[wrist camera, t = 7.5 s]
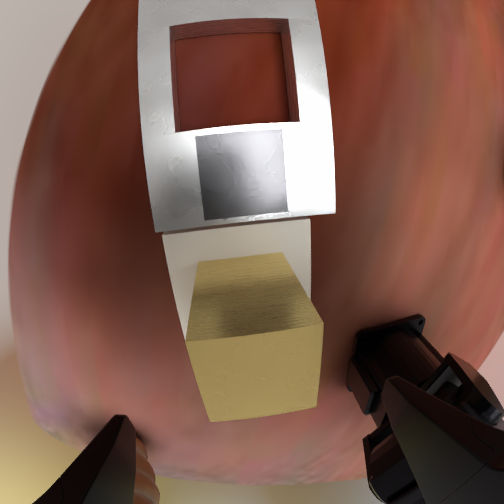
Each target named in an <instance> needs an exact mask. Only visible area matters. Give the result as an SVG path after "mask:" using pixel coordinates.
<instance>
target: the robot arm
mask: <svg viewBox="0 0 504 504" xmlns="http://www.w3.org/2000/svg"><path fill="white" fill-rule="evenodd" d="M424 324H425V318H424V317H423V316H422V315H417V316H414V317H410V318H407V319H403V320H400V321H396V322H392V323H388V324H385V325H381V326H377V327H373V328H368V329H364V330H361V331H359V332H358V333H357V334H356V336H355V341H354V348H353V354H352V357H351V358H350V362H349V368H348V373H347V378H346V380H347V389H348V391H350V392H351V391H352V392H353V394H354V396H355V398H356V400H357V402H358V404H359V406H360V408H361V410H362V412H363V413H364V414H365V415H369V414H371V416H372V418H373V420H374V422H375V424H376V426H377V427H378V428H377V429H376V430H375V431H373V432H372V433H371V434H368V435H367V436H366V437H364V438H363V446H364V453H365V461H366V469H367V478H368V484H369V488H370V490H371V491H372V493H373V494H374V495H375V496H376V498H377V499H378V500H380V501H381V502H383V503H384V504H504V421H503V420H502V418H503V417H504V409H503V407H502V405H501V403H500V402H499V400H498V398H497V397H496V395H495V393H494V392H493V390H492V389H491V387H490V385H489V384H488V382H487V381H486V380H485V379H484V377H483V376H482V375H480V374H479V372H477V370H476V369H475V368H473V367H472V366H471V365H470V364H469V363H467V362H465V361H464V360H462V359H460V358H459V357H457V356H455V355H453V354H452V353H450V352H449V353H448V354H447V355H446V356H445V358H443V357H442V356H441V355H440V354H439V352H438V351H437V350H436V349H435V348H434V347H433V346H432V345H431V344H430V343H429V342H428V341H427V340H426V339H425V337H424V336H423V335H422V331H423V327H424ZM362 336H363V337H362ZM361 337H362V338H361ZM135 476H136V430H135V428H134V426H133V424H132V423H131V421H130V420H129V418H128V417H127V416H126V415H118V414H117V415H114V416H113V417H112V418H111V420H110V421H109V422H108V423H107V424H106V425H105V426H104V428H103V429H102V430H101V431H100V432H99V433H98V434H97V435H96V437H95V438H94V439H93V440H92V441H91V442H90V443H89V444H88V446H87V447H86V448H85V449H84V450H83V451H82V452H81V454H80V455H79V456H78V457H77V458H76V459H75V461H73V463H72V464H71V465H70V466H69V467H68V468H67V469H66V470H65V472H64V473H63V474H62V475H61V477H60V478H58V479H57V480H56V482H55V483H54V484H53V485H52V486H51V487H50V488H49V489H48V490H47V491H46V492H45V493H44V494H43V495H42V496H41V497H39V498H38V499H37V500H36V501H35V502H34V503H32V504H133V499H134V487H135Z"/></svg>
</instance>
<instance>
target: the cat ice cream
mask: <svg viewBox="0 0 504 504" xmlns="http://www.w3.org/2000/svg"><path fill="white" fill-rule="evenodd" d="M147 459H148V457H147V451H146V448H145V446H144V444H143V443H142V442H141V441H140V440H139V439H138V438H136V476H135V487H134V499H133V504H159V500H160V493H159V490H158V488H157V486H156V484H155V473H154V471H153V468H152V467H151V465H150V463H149V462H148V461H147Z"/></svg>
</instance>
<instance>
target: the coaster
mask: <svg viewBox="0 0 504 504" xmlns="http://www.w3.org/2000/svg"><path fill="white" fill-rule="evenodd" d="M162 239H163V244H164V250H165V255H166V260H167V265H168V270H169V275H170V279H171V284H172V288H173V293H174V297H175V302H176V306H177V310H178V314H179V318H180V322H181V326H182V330H183V334H184V338H185V339H186V333H187V326H188V319H189V313H190V307H191V301H192V295H193V289H194V283H195V277H196V271H197V266H198V262H202V261H210V260H219V259H227V258H236V257H244V256H253V255H261V254H270V253H278V252H282V253H283V255H284V256H285V258H286V260H287V261H288V263H289V265H290V266H291V268H292V270H293V271H294V273H295V275H296V277H297V278H298V280H299V282H300V283H301V285H302V287H303V288H304V290H305V292H306V294H307V295H308V297H309V299H310V300H311V229H310V218H309V217H307V216H297V217H287V218H277V219H267V220H257V221H248V222H238V223H230V224H221V225H212V226H204V227H196V228H188V229H180V230H172V231H164V233H163V234H162Z"/></svg>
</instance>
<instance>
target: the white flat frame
mask: <svg viewBox="0 0 504 504" xmlns="http://www.w3.org/2000/svg"><path fill="white" fill-rule="evenodd" d="M263 32H269V33H280V34H281V42H282V50H283V58H284V67H285V76H286V86H287V96H288V106H289V117H290V123H265V124H249V125H236V126H225V127H216V128H207V129H199V130H192V131H185V132H181V127H180V115H179V102H178V88H177V72H176V51H175V40H179V39H185V38H192V37H200V36H209V35H219V34H233V33H263ZM138 83H139V102H140V117H141V129H142V140H143V150H144V159H145V167H146V175H147V183H148V190H149V197H150V203H151V209H152V216H153V222H154V227H155V233H157V232H164V231H172V230H180V229H188V228H196V227H204V226H212V225H221V224H230V223H238V222H248V221H257V220H267V219H277V218H287V217H297V216H308V215H320V214H331V213H335V172H334V151H333V135H332V121H331V110H330V99H329V90H328V81H327V73H326V65H325V58H324V51H323V44H322V38H321V32H320V26H319V20H318V15H317V10H316V5H315V0H139V12H138Z"/></svg>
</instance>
